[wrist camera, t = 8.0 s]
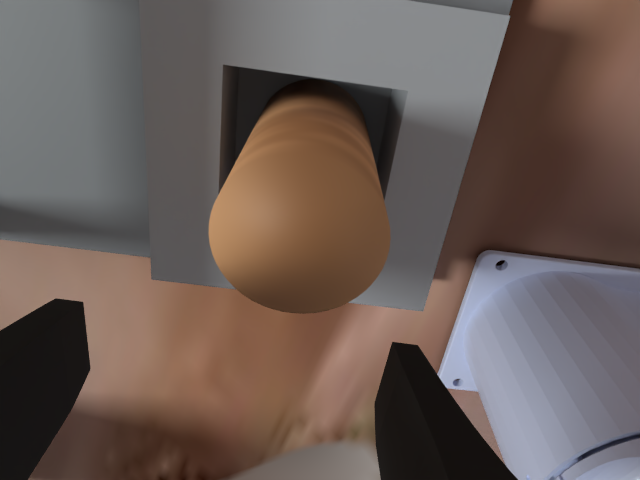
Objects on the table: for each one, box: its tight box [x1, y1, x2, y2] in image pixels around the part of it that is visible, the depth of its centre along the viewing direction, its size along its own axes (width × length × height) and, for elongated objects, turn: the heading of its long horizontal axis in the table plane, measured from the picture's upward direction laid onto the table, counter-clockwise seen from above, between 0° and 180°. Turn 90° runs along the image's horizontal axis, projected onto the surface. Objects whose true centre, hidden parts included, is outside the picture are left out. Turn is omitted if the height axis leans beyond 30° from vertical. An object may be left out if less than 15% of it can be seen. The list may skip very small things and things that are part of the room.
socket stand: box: [0, 0, 513, 311], centre depth 14 cm, size 21×12×10 cm, turn 82°
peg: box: [209, 79, 391, 313], centre depth 14 cm, size 4×4×8 cm
